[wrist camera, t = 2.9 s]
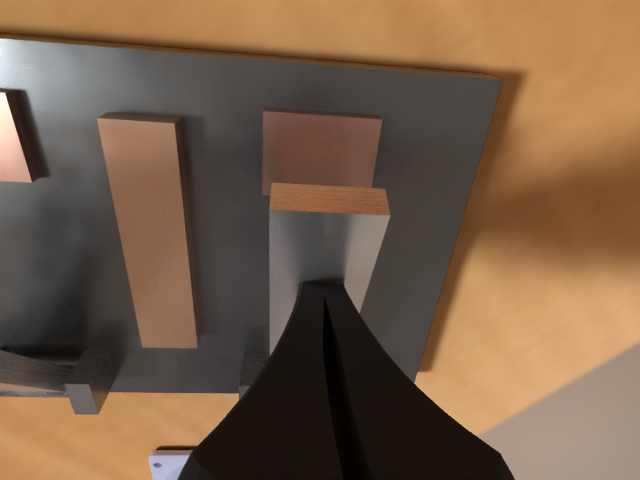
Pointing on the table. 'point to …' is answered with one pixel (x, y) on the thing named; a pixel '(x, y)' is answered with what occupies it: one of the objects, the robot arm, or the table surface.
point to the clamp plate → (210, 201)
